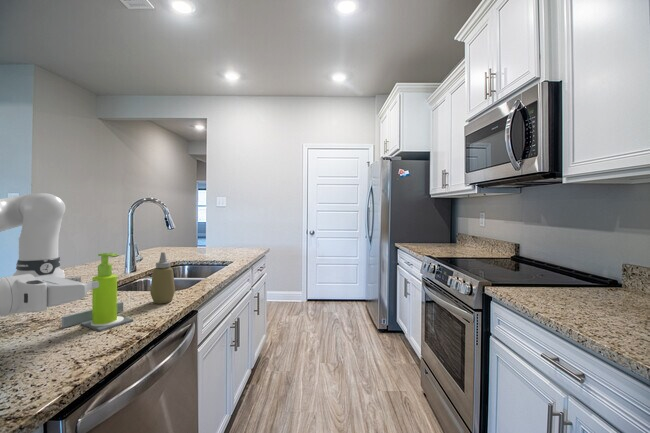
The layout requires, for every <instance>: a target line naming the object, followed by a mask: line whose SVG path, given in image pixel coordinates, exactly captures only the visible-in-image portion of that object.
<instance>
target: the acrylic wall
mask: <svg viewBox="0 0 650 433" xmlns="http://www.w3.org/2000/svg"><path fill="white" fill-rule="evenodd" d="M123 312H124V302H123V301H120V302H118V301H117V314H119V313H123ZM90 320H93V318H92V308H91V309H87V310H82V311H79V312H78V311H77V312H75V313H71V314H67V315H63V316H61V328H63V329H65V328H69V327H71V326H75V325H76V326H77V325H79V324H80V325H81V323H83V322H86V321H90Z"/></svg>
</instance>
